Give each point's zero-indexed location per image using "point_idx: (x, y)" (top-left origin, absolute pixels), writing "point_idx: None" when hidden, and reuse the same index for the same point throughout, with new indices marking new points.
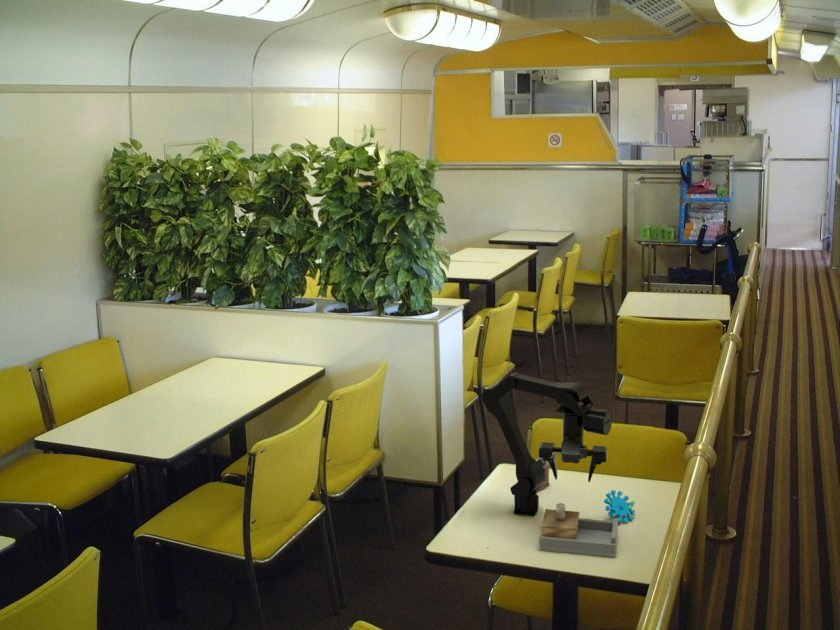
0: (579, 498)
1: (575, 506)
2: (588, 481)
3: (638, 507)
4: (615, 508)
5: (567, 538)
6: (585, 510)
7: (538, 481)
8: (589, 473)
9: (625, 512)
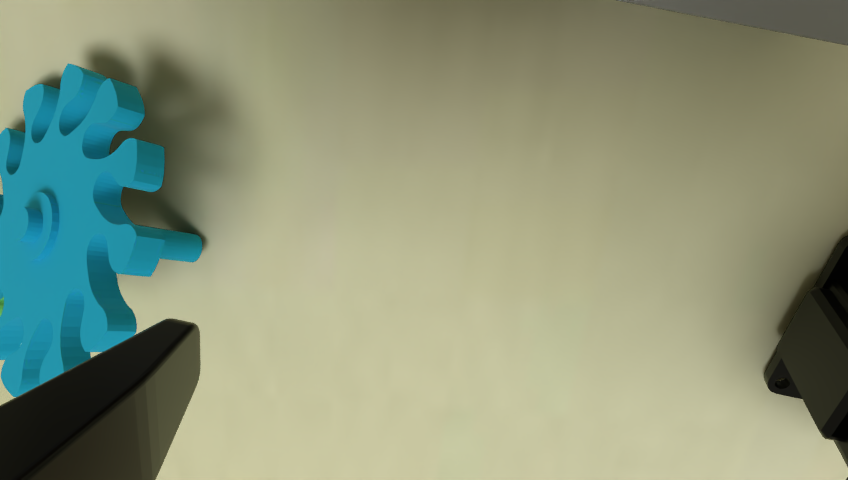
0: (412, 467)
1: (452, 371)
2: (186, 327)
3: None
4: (77, 181)
5: None
6: (381, 312)
7: None
8: (33, 458)
9: (23, 175)
